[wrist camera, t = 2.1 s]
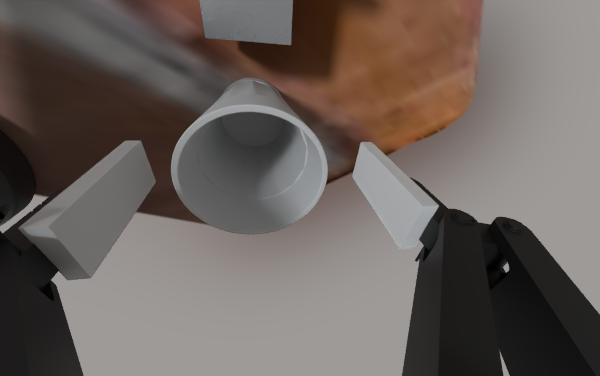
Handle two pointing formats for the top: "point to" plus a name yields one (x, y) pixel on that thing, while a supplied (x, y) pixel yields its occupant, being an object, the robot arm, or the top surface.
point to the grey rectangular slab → (248, 20)
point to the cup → (249, 162)
